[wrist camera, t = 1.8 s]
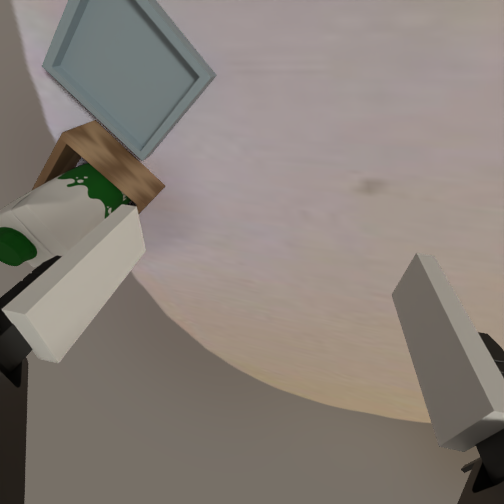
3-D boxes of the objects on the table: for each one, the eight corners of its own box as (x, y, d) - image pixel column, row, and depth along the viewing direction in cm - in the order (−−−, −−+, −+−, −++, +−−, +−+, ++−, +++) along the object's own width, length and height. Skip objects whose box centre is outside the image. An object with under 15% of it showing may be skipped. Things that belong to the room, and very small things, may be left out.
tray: (55, 64, 37) (41, 66, 35) (109, -58, 29) (94, -65, 27) (150, 155, 43) (142, 161, 41) (216, 75, 35) (211, 77, 33)
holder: (62, 174, 48) (30, 191, 43) (95, 120, 41) (62, 132, 36) (126, 226, 53) (105, 248, 47) (165, 186, 46) (146, 205, 41)
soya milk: (77, 163, 46) (-42, 227, 31) (116, 146, 43) (7, 207, 28) (109, 208, 51) (21, 282, 35) (147, 195, 48) (69, 271, 32)
